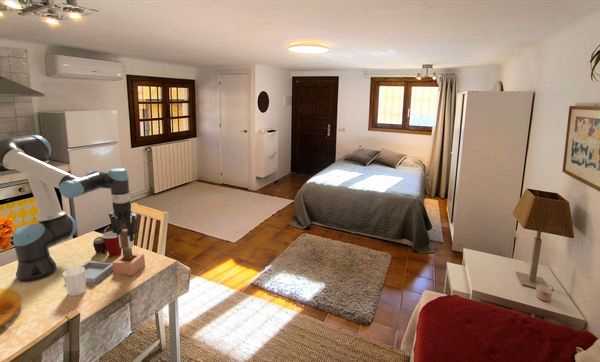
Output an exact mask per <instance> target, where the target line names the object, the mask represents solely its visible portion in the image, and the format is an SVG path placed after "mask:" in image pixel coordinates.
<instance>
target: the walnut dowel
mask: <svg viewBox="0 0 600 362" xmlns="http://www.w3.org/2000/svg"><path fill="white" fill-rule="evenodd" d="M120 234H121V242H122V255H123V259H124V261H129V262H131V261H132V260H133V256H132V253H133V250H132V249H133V247H131V248H129V246H128V237H127V236H128V235H129V234H128V231H127V228H124V229H123V228H122V230H121V231H120Z"/></svg>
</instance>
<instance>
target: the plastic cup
mask: <svg viewBox="0 0 600 362" xmlns="http://www.w3.org/2000/svg"><path fill="white" fill-rule="evenodd" d="M100 237H102V238H103V240H104V242H105V245H106V248H107V252H108V255H109V256H110V257H118V256H121V255H122V253H123V251H122V247H120V245H119V240H118V239H117V234H116V233H113V232H112V230H110V231H108V232H107V231H106V232H105V233H104V232H103V233H102V234H101V236H100Z"/></svg>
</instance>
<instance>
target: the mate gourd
mask: <svg viewBox="0 0 600 362" xmlns="http://www.w3.org/2000/svg"><path fill="white" fill-rule="evenodd" d="M109 228H110V225H108V226H106V227H105V229H104V230H103V234H104V233H107V230H108V229H109ZM92 244H93V245H92V246H93V248H94V249H93V250H94V251H95V254H96V255H98V254H100V253H103V254H106V251H107V252H108V250H107V248H106V245H105V242H104V240H103V238H102V237H101V236H98V237H95V238H94V240H93V243H92Z"/></svg>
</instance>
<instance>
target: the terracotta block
mask: <svg viewBox="0 0 600 362" xmlns="http://www.w3.org/2000/svg"><path fill="white" fill-rule="evenodd" d="M132 256H133V260H132V261H131V262H129V261H124V259H123V254H120V255H119V257H118V258H116V259H115V260H113V261H112V262H111V263H112V264H113V271H112V272H113V274H116V275H124V276H125V275H127V276H128V275H130V276H134V275H135V274H136V273H138V272H139V271H140V270H141V269H142V268H143V267H144V266H146V261H145V254H144V253H135V252H132Z"/></svg>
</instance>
